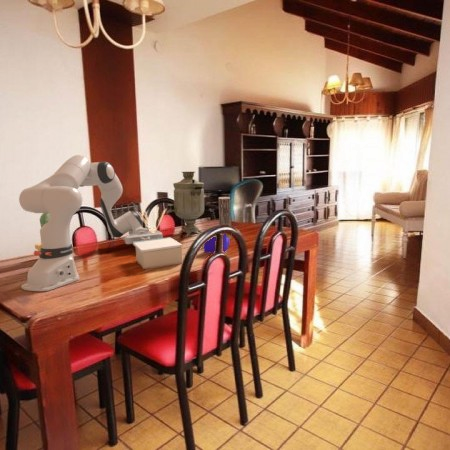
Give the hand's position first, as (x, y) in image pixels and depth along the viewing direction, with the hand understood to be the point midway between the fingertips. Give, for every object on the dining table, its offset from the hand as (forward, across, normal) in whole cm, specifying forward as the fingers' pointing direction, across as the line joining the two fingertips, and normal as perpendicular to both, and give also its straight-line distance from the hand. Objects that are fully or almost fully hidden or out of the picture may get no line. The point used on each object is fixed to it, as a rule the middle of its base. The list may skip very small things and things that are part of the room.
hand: (147, 240), depth 191 cm
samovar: (-36, +35, +7) cm, 50 cm away
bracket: (+14, +36, +7) cm, 39 cm away
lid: (+20, 0, -1) cm, 20 cm away
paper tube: (-6, +49, +7) cm, 50 cm away
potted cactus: (-15, -45, +7) cm, 48 cm away
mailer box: (+22, 0, +6) cm, 23 cm away
